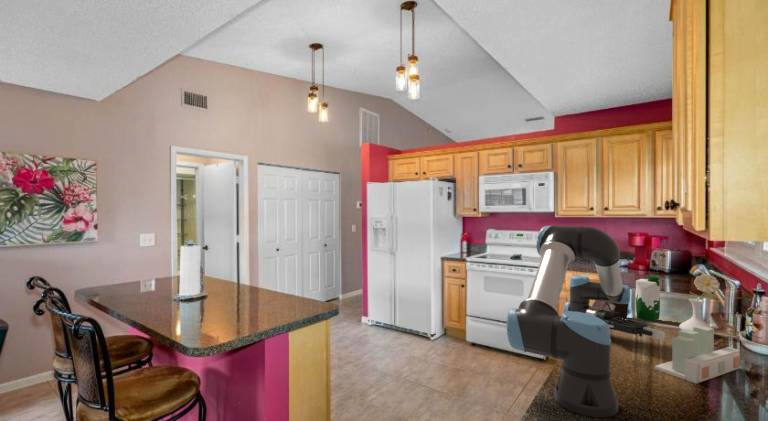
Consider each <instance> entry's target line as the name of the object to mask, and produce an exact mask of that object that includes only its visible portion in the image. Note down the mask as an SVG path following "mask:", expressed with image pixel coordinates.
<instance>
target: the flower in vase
mask: <svg viewBox="0 0 768 421" xmlns="http://www.w3.org/2000/svg"><path fill="white" fill-rule="evenodd" d="M693 285H695V288H696V289H697V290H699V291H701V292H703V293H702V294H701V296H699V295H698V294H696V293H693V292H692V291H690V290H689V291H688V292H689V294H691V295H693V296H696V297H698V298H688V300H689V302H690V303H691V306H692V315H691V317H690V318H689V319H687V320H685V321H682V322H681V323H680V324H679V325H678V327H679V329H680V330H683V329H687V330H690V331H693V327H696V326H704V327H708V328H712V329H714V328H713V327H712V326H711V325H709V324H708V323H706V322H705V321H704V320H703V319H702V317H701V307H702V305H703V303H704V302H705V300H703V299H701V298H702V297H703V296H704V297H705V298H706V299H709V300H712V299H713V300H714V299H718V297H717V296H716V295H715V294H713V293H714V292H718V290H719V288H720V286H721V284H720V282H719V280H718V279H717V278H716V277H715V276H712V275H711V274H707V273H705V274H700V275H697V276H696V277H695V279H694V281H693Z"/></svg>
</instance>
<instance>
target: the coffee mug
mask: <svg viewBox="0 0 768 421" xmlns="http://www.w3.org/2000/svg"><path fill="white" fill-rule="evenodd" d="M605 304H606V306H608V308H609V311H611V312H612V313H613V314H614V316H615V317H620V318H623V319H626V318H628V312H629V310H628V309H629V304H630V302H629V303H628V304H621V303H620V304H618V303H612V302H605Z"/></svg>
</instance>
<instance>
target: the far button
mask: <svg viewBox="0 0 768 421" xmlns="http://www.w3.org/2000/svg"><path fill="white" fill-rule="evenodd" d="M712 328H713V327H712ZM712 328H708V327H704V326H696V327H693V331H694V332H698V333H699V356H700V355H703V354H706V353H710V352H713V351H715V340H714V339H715V335H714V334H715V329H714V328H713V329H712Z"/></svg>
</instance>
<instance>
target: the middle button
mask: <svg viewBox="0 0 768 421" xmlns="http://www.w3.org/2000/svg"><path fill="white" fill-rule="evenodd" d="M677 336H682V337H686V338H690V339H693V340H694V357H696V356H699V333H698V332H694V331H690V330H687V329H683V330H681V329H680V330H678V331H677Z"/></svg>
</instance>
